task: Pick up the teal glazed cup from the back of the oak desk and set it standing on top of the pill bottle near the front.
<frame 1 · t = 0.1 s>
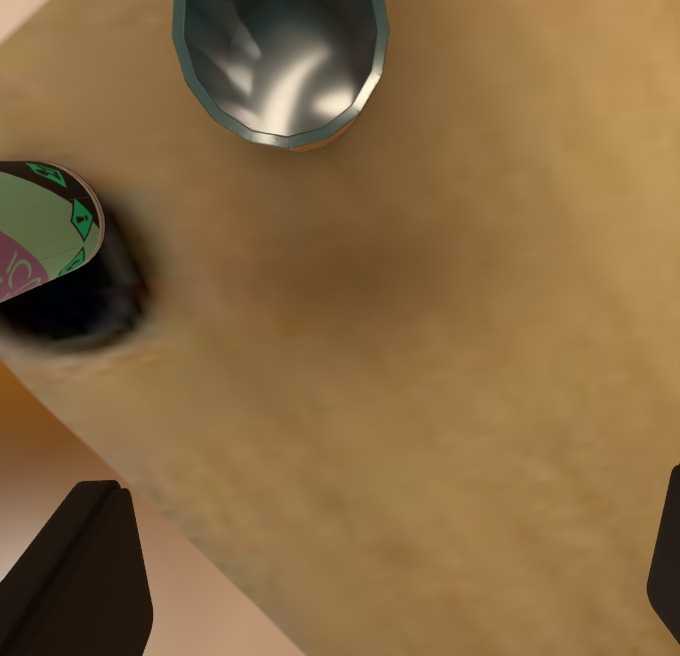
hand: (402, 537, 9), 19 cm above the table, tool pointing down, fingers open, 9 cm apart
spray can: (52, 217, 25), on the table
cup: (294, 74, 23), on the table
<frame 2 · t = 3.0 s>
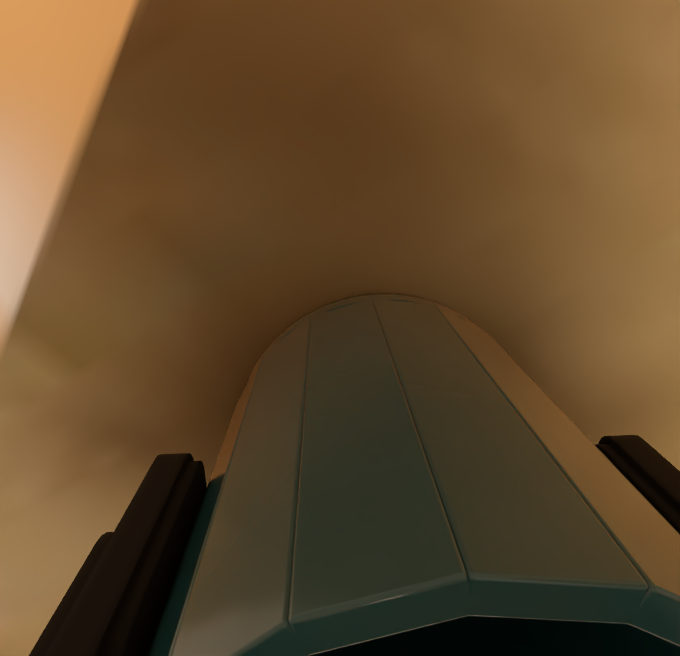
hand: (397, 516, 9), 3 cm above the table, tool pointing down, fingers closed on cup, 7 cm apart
cup: (379, 427, 12), on the table, touching gripper
when the fingers open (14 cm above the table, at t = 12.7 s): cup stays where it is, resting on pill bottle.
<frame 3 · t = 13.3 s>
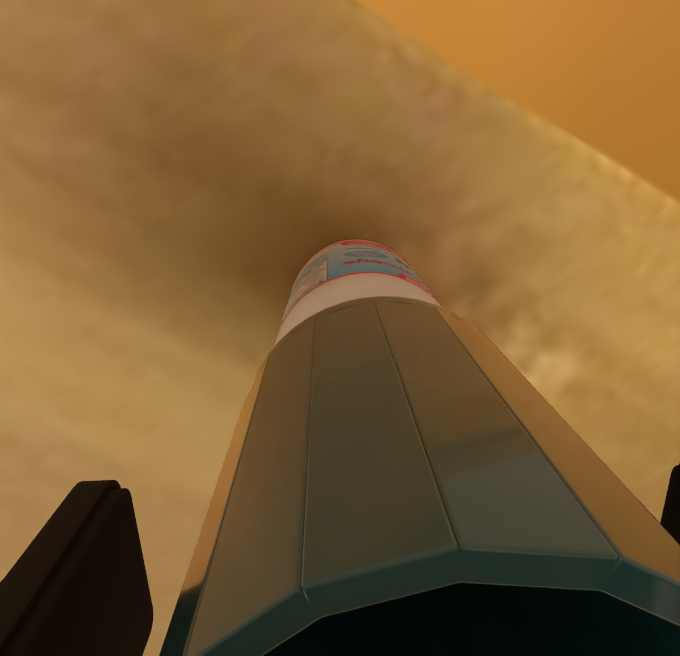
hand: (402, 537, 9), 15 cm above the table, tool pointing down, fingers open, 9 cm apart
pill bottle: (353, 300, 23), on the table, touching cup
cup: (380, 424, 13), point 11 cm above the table, touching pill bottle
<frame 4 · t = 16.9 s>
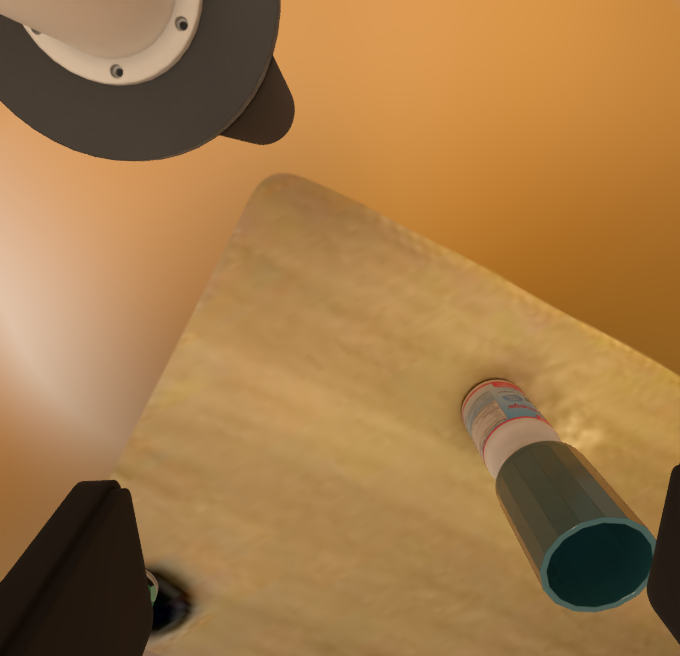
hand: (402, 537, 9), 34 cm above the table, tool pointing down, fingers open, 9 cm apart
pill bottle: (490, 405, 47), on the table, touching cup
cup: (541, 481, 36), point 11 cm above the table, touching pill bottle
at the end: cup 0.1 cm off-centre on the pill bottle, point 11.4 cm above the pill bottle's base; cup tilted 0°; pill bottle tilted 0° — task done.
